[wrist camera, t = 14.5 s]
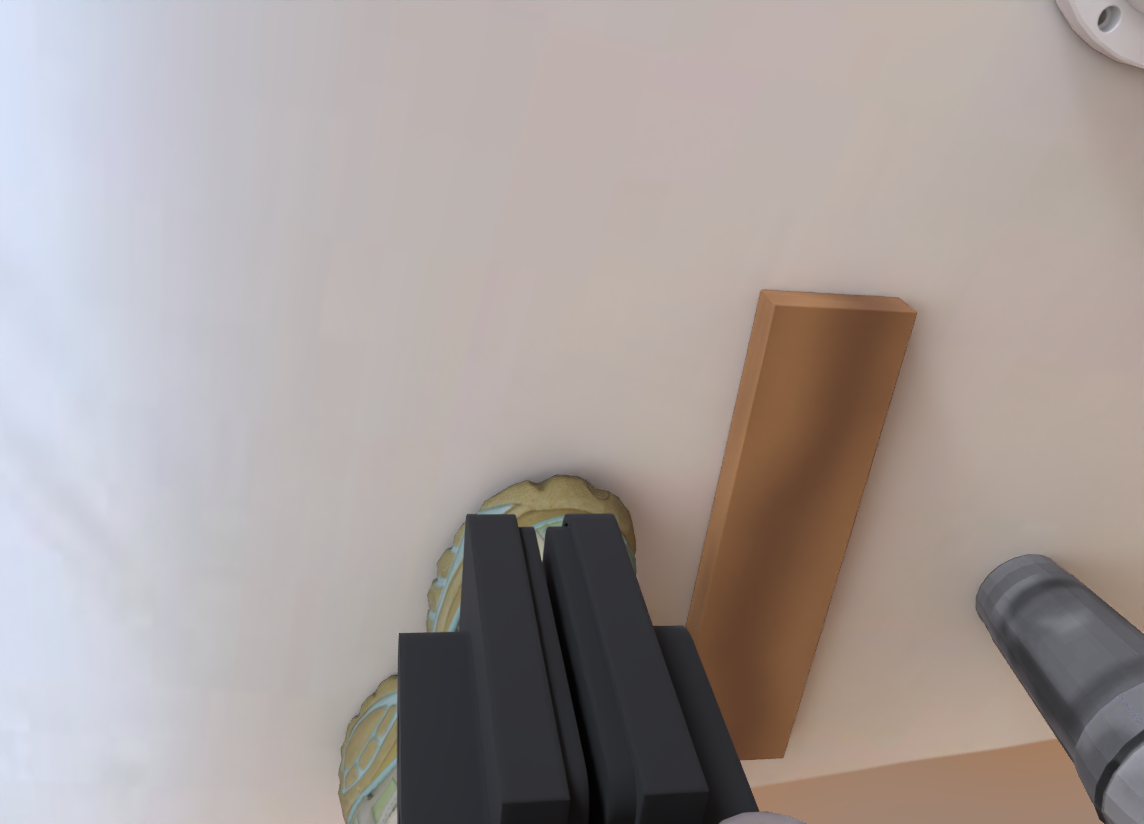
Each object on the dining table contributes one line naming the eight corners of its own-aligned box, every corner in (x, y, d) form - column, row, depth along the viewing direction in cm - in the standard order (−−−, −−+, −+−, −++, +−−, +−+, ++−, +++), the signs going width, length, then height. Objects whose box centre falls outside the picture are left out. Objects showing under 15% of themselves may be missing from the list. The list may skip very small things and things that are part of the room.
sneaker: (721, 569, 45) (829, 837, 32) (433, 813, 50) (422, 1137, 37) (550, 423, 41) (593, 659, 28) (255, 702, 46) (169, 1020, 33)
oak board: (899, 297, 41) (917, 312, 40) (772, 734, 52) (783, 758, 50) (760, 289, 40) (774, 304, 38) (660, 739, 50) (668, 764, 49)
